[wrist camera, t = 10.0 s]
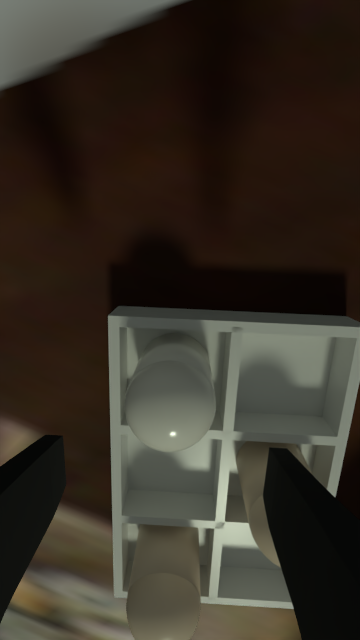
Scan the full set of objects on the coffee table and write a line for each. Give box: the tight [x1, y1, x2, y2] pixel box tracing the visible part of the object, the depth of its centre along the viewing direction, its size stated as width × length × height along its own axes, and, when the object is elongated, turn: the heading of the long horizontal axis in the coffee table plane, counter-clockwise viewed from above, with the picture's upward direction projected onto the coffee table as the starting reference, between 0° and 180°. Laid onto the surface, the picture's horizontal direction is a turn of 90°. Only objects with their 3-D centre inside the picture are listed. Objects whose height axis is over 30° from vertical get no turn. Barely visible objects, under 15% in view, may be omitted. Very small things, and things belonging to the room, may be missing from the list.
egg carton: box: [108, 306, 360, 640], centre depth 17 cm, size 14×20×7 cm
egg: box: [124, 333, 216, 452], centre depth 16 cm, size 4×4×7 cm
